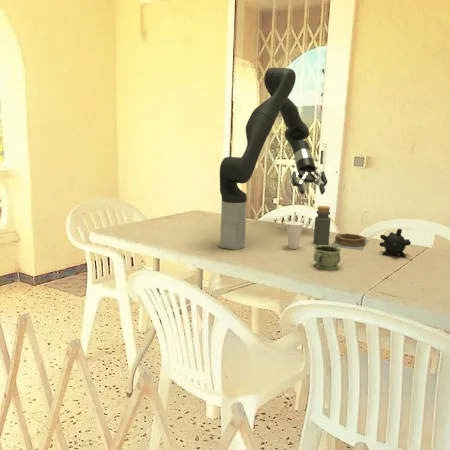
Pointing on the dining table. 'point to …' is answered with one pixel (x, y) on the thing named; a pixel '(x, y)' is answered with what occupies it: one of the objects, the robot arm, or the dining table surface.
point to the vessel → (327, 257)
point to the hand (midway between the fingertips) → (313, 193)
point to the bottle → (322, 226)
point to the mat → (349, 246)
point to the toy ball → (394, 243)
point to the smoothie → (294, 233)
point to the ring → (350, 240)
